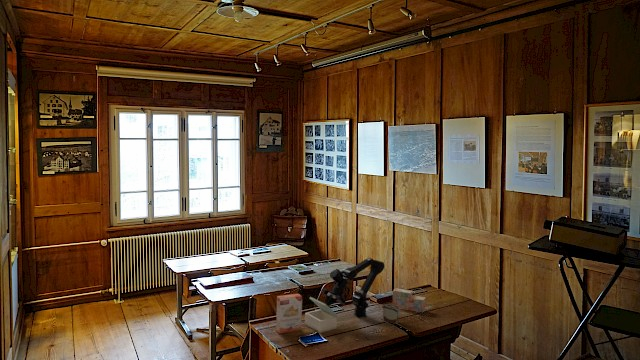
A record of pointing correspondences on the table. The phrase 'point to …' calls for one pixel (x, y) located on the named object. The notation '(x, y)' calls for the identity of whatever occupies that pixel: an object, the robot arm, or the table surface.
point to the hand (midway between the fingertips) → (325, 307)
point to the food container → (390, 313)
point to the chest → (320, 320)
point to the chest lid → (323, 306)
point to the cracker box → (289, 313)
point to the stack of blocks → (408, 300)
